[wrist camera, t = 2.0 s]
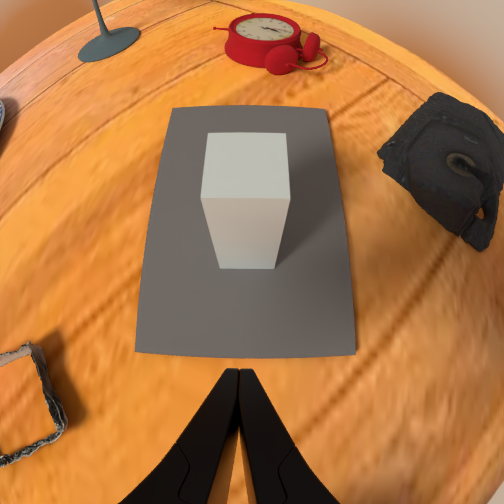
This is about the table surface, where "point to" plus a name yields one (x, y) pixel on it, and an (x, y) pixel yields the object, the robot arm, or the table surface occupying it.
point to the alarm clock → (270, 43)
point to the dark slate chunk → (450, 165)
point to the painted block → (246, 197)
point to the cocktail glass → (107, 41)
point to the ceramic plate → (2, 113)
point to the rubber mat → (247, 280)
